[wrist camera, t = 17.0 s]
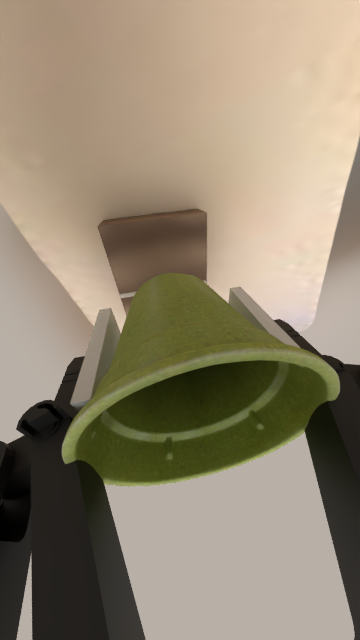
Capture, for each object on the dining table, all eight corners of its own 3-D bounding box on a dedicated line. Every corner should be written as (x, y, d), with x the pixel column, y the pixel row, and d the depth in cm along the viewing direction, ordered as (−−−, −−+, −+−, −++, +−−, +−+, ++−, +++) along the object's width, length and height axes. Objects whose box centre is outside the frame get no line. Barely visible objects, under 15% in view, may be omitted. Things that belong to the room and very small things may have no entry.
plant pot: (253, 314, 15) (348, 424, 8) (163, 370, 17) (179, 493, 10) (192, 206, 10) (320, 262, 3) (73, 307, 12) (-16, 476, 5)
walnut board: (103, 220, 22) (97, 226, 19) (197, 208, 24) (207, 212, 20) (134, 321, 32) (133, 337, 29) (199, 310, 33) (206, 323, 30)
